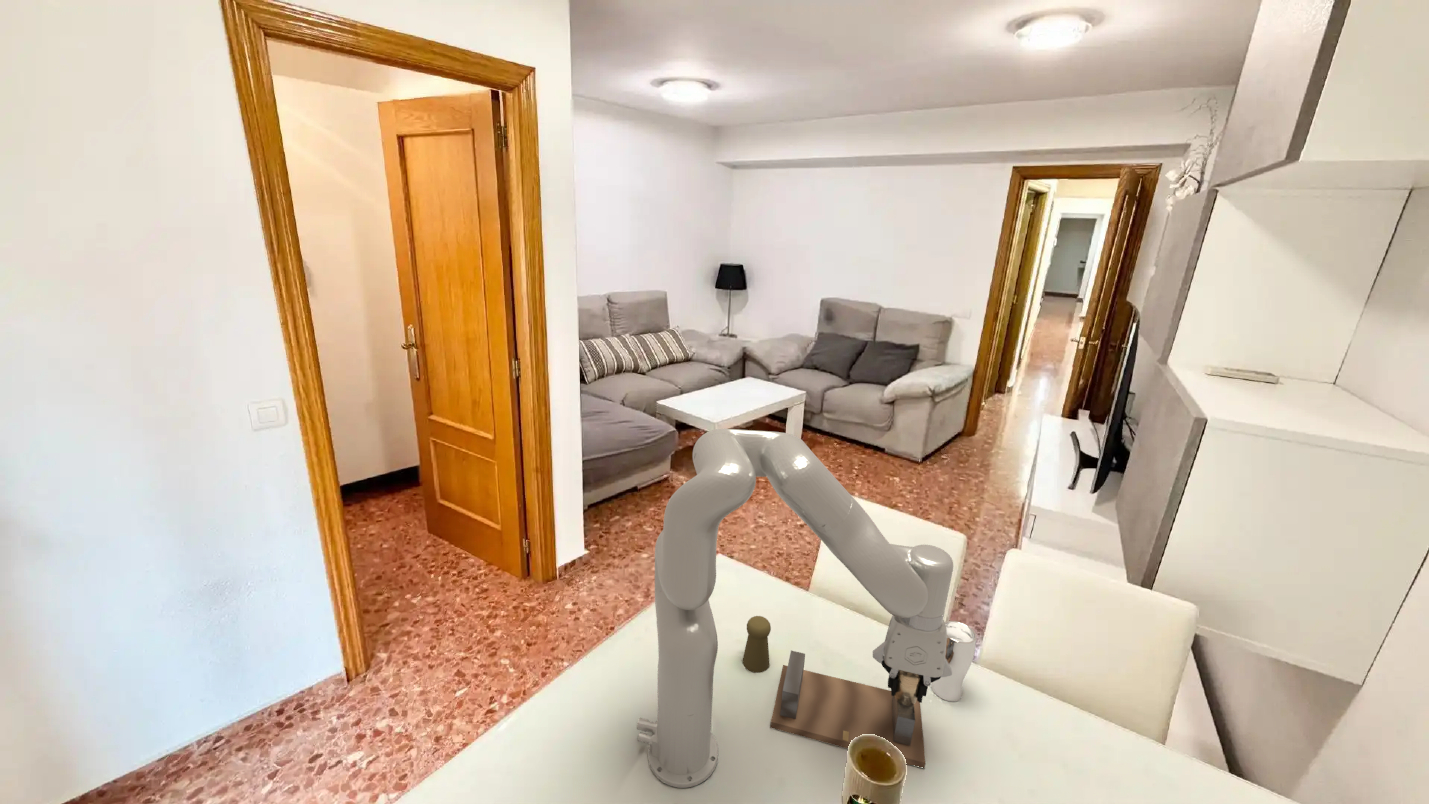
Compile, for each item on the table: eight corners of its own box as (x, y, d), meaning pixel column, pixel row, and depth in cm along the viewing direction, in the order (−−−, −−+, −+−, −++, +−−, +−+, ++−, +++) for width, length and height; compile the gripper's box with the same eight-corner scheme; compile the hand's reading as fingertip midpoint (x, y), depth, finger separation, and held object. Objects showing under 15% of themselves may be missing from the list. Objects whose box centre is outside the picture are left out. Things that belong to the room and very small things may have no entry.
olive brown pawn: (768, 675, 118) (771, 633, 115) (740, 670, 119) (743, 627, 116) (771, 655, 124) (774, 614, 120) (744, 650, 125) (747, 609, 121)
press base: (770, 727, 106) (773, 696, 103) (782, 670, 119) (785, 642, 117) (924, 769, 99) (930, 737, 96) (918, 703, 112) (924, 674, 110)
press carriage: (890, 740, 102) (899, 689, 98) (889, 698, 111) (897, 650, 107) (913, 746, 101) (923, 694, 97) (910, 703, 110) (919, 655, 106)
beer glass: (964, 684, 118) (977, 626, 113) (964, 708, 112) (977, 648, 107) (930, 673, 120) (941, 615, 116) (927, 696, 114) (939, 636, 110)
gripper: (872, 615, 97) (859, 697, 102) (974, 637, 93) (955, 721, 98) (872, 590, 104) (860, 668, 109) (967, 609, 100) (950, 689, 105)
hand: (905, 692), depth 104 cm, fingers closed on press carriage, 4 cm apart
